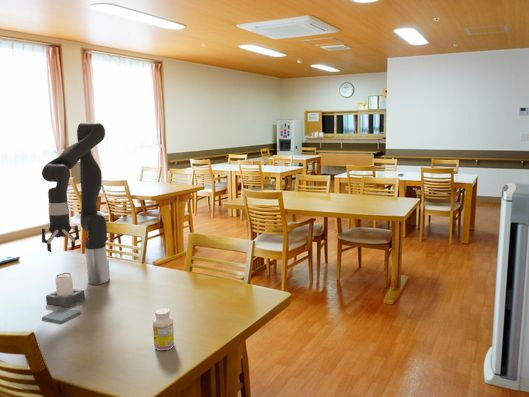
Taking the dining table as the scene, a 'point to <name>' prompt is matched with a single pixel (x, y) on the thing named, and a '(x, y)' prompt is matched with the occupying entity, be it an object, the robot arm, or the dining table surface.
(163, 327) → the supplement bottle
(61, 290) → the can
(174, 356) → the dining table surface
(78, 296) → the sleeve
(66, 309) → the mat
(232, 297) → the dining table surface
